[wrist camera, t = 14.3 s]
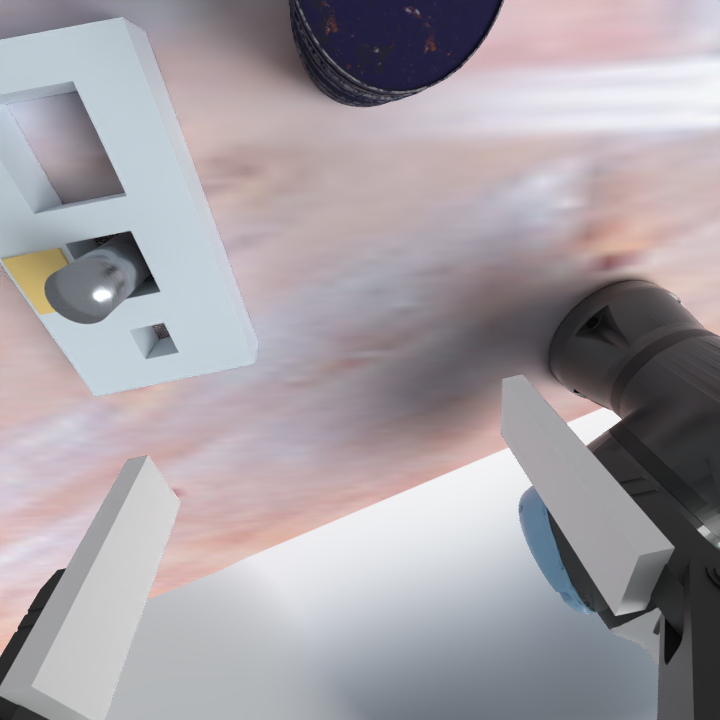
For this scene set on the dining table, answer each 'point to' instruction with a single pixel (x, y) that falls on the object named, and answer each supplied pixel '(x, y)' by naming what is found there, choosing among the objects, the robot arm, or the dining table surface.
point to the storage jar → (387, 44)
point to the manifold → (119, 214)
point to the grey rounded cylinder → (97, 280)
